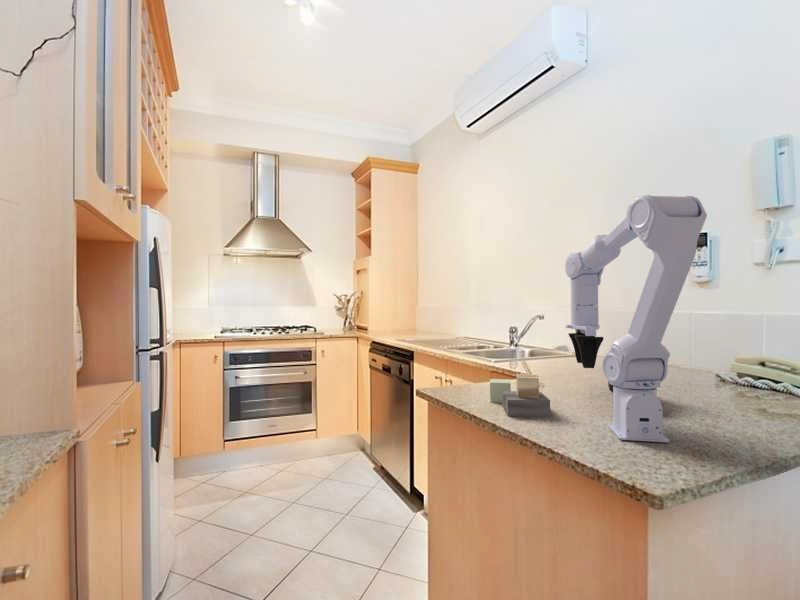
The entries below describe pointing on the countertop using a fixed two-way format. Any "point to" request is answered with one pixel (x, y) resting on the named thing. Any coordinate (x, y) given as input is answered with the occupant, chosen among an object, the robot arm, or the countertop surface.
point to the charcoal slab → (525, 405)
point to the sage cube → (498, 389)
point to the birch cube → (527, 386)
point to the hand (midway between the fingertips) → (585, 365)
